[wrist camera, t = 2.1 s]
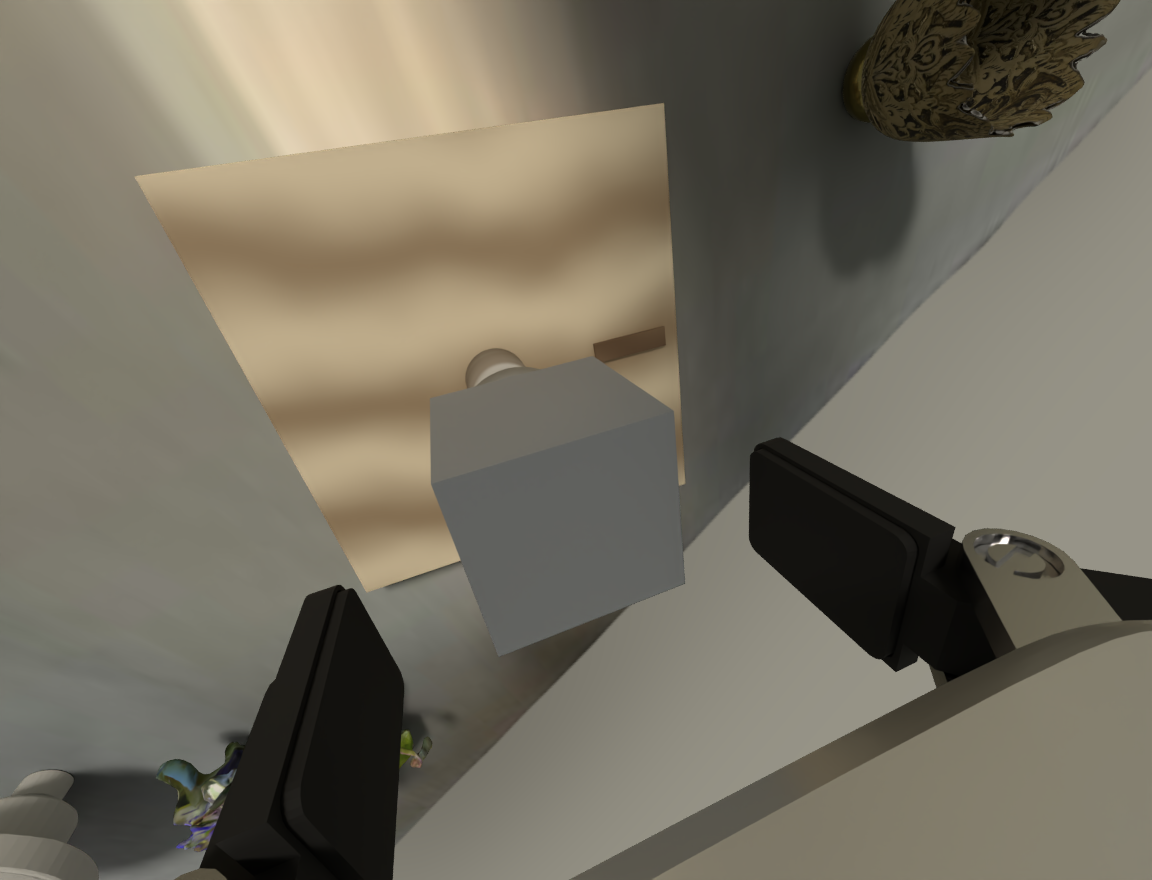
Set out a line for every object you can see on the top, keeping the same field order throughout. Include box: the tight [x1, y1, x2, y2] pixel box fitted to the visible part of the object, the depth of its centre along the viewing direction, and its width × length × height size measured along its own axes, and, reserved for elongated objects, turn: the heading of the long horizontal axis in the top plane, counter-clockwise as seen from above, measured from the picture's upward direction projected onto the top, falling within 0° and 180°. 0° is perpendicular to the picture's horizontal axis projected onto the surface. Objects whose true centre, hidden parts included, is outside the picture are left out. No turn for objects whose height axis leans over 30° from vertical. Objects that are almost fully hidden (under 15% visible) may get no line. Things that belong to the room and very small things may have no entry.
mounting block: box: [135, 103, 685, 592], centre depth 19 cm, size 20×20×8 cm
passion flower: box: [156, 729, 432, 852], centre depth 26 cm, size 11×11×12 cm
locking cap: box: [430, 356, 685, 657], centre depth 14 cm, size 10×5×7 cm, turn 9°
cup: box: [843, 0, 1120, 142], centre depth 19 cm, size 8×7×8 cm
